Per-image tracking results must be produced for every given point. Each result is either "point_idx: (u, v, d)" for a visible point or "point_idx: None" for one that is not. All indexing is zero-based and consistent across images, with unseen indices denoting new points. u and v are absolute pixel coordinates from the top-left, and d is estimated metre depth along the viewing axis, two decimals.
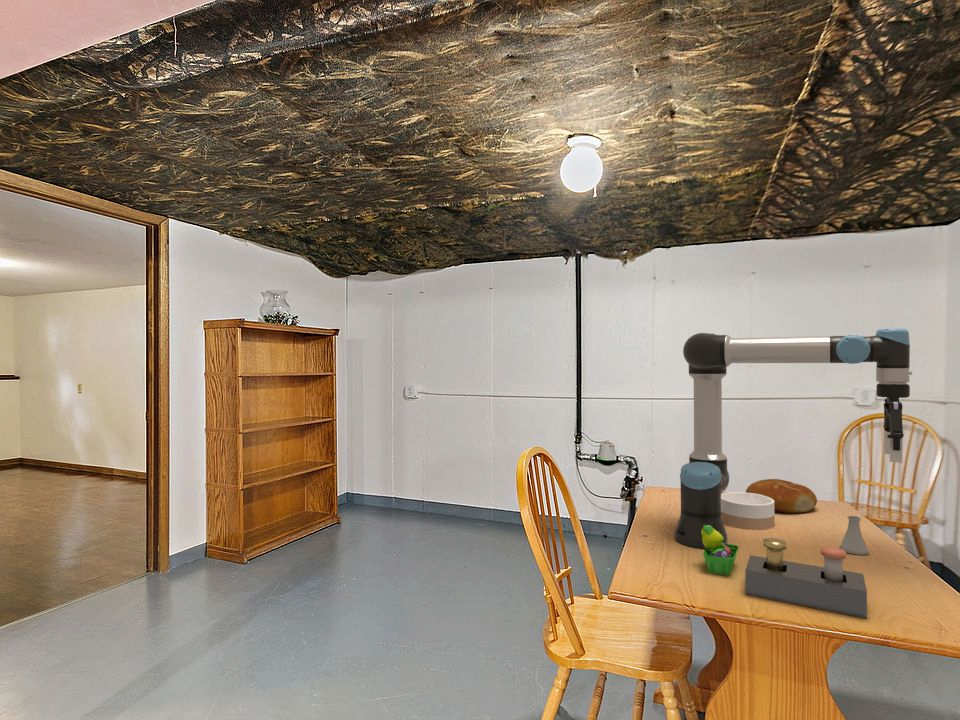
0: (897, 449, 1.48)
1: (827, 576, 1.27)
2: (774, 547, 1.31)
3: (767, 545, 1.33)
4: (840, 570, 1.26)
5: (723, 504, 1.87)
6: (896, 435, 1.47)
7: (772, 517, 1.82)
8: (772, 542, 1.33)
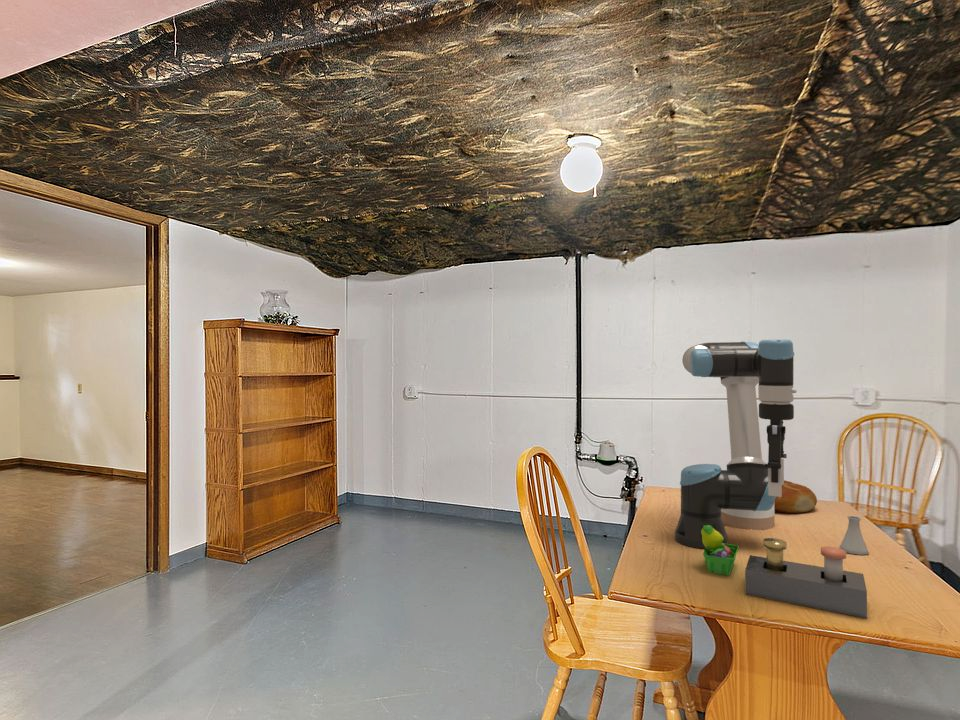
0: (775, 481, 1.26)
1: (827, 576, 1.27)
2: (774, 547, 1.31)
3: (767, 545, 1.33)
4: (840, 570, 1.26)
5: None
6: (773, 465, 1.25)
7: (772, 517, 1.82)
8: (772, 542, 1.33)
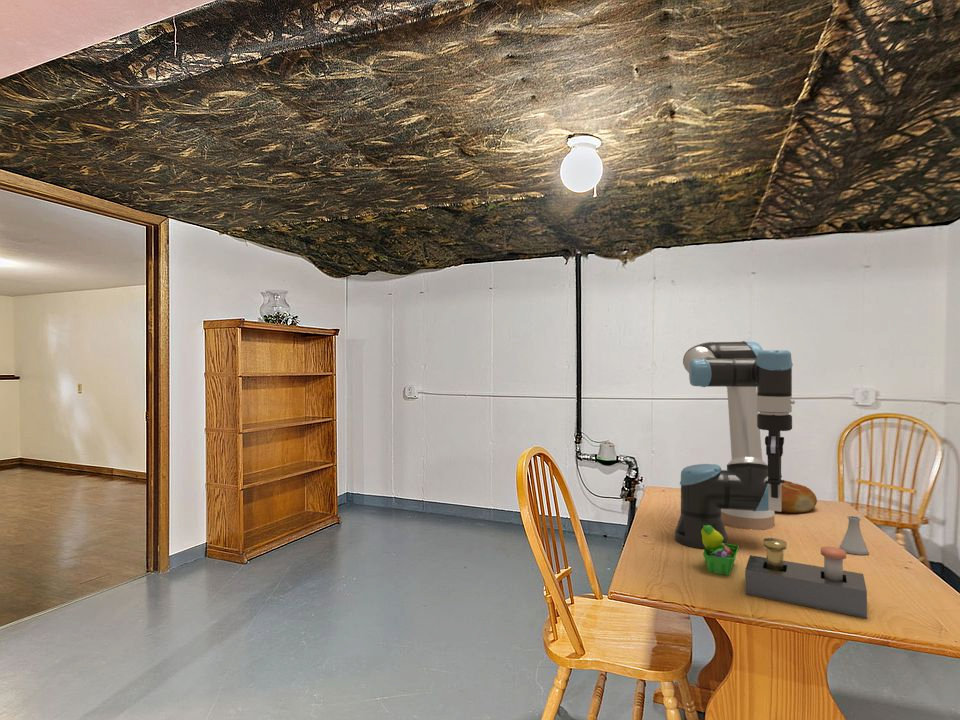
0: (775, 496, 1.32)
1: (827, 576, 1.27)
2: (774, 547, 1.31)
3: (767, 545, 1.33)
4: (840, 570, 1.26)
5: None
6: (772, 482, 1.30)
7: (772, 517, 1.82)
8: (772, 542, 1.33)
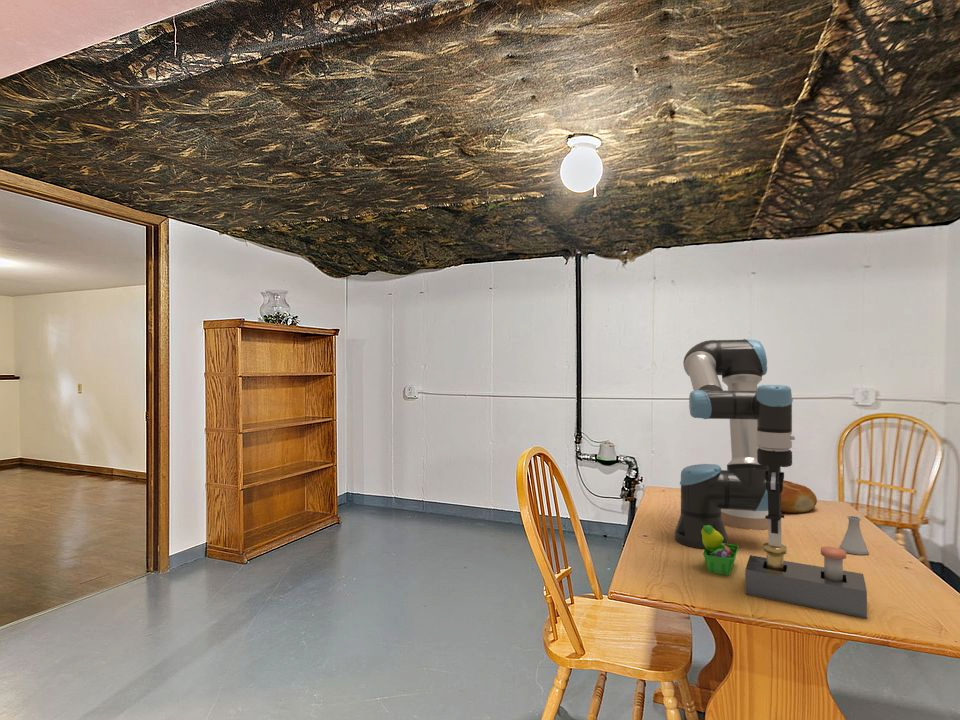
0: (775, 532, 1.32)
1: (827, 576, 1.27)
2: (774, 552, 1.31)
3: (767, 550, 1.33)
4: (840, 570, 1.26)
5: None
6: (773, 518, 1.31)
7: None
8: (772, 546, 1.33)
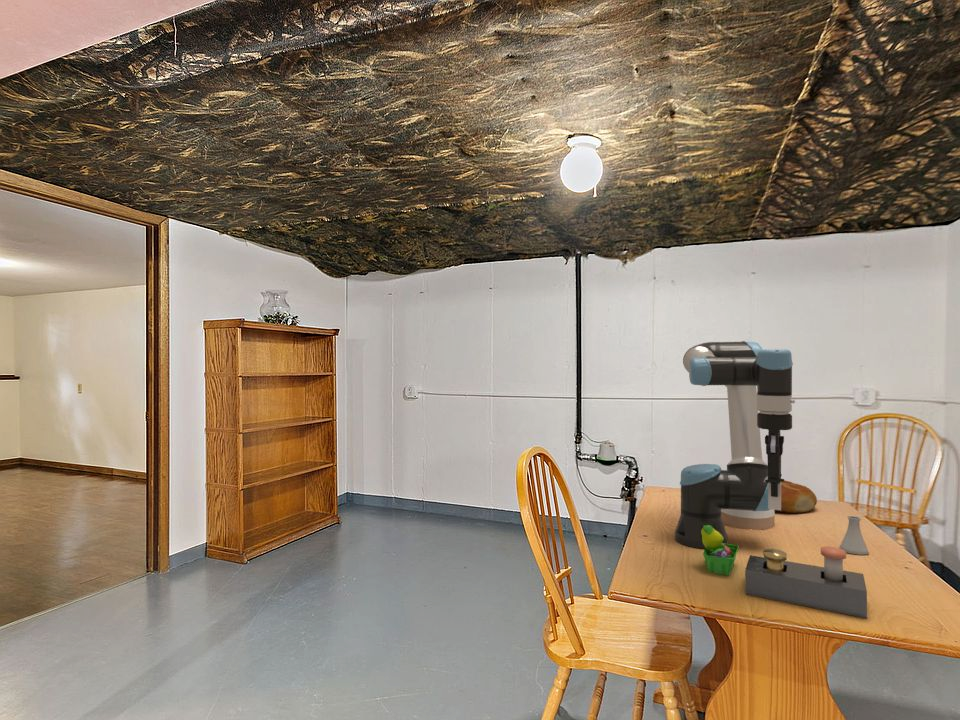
0: (775, 495, 1.32)
1: (827, 576, 1.27)
2: (774, 558, 1.31)
3: (767, 556, 1.33)
4: (840, 570, 1.26)
5: None
6: (772, 481, 1.31)
7: (772, 517, 1.82)
8: (772, 553, 1.33)
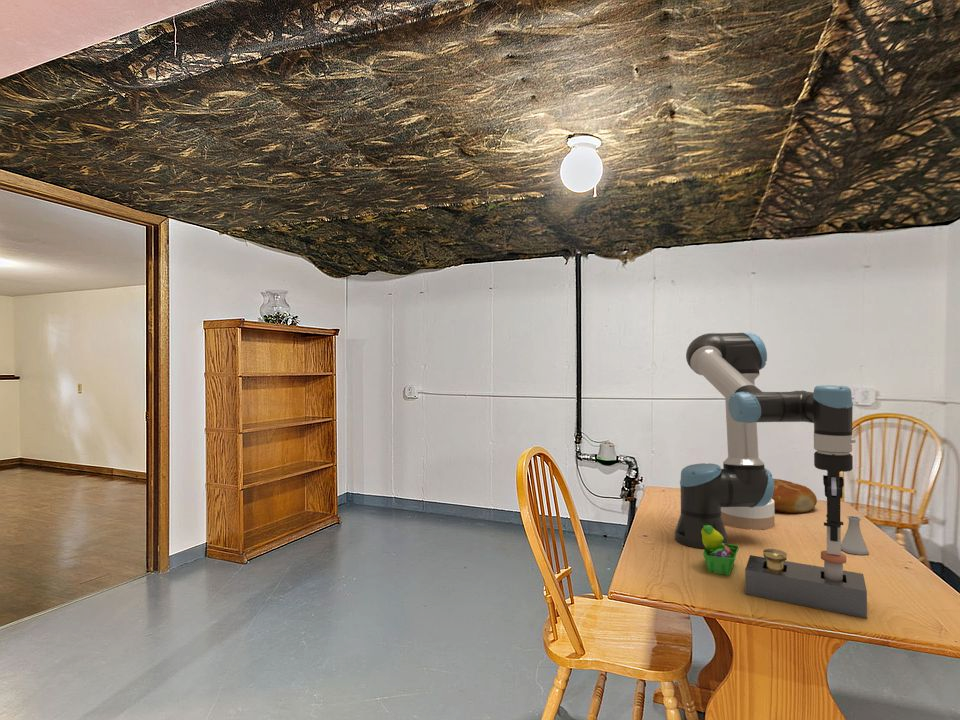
0: (834, 540, 1.25)
1: None
2: (774, 558, 1.31)
3: (767, 556, 1.33)
4: (840, 574, 1.26)
5: None
6: (832, 525, 1.24)
7: (772, 517, 1.82)
8: (772, 553, 1.33)
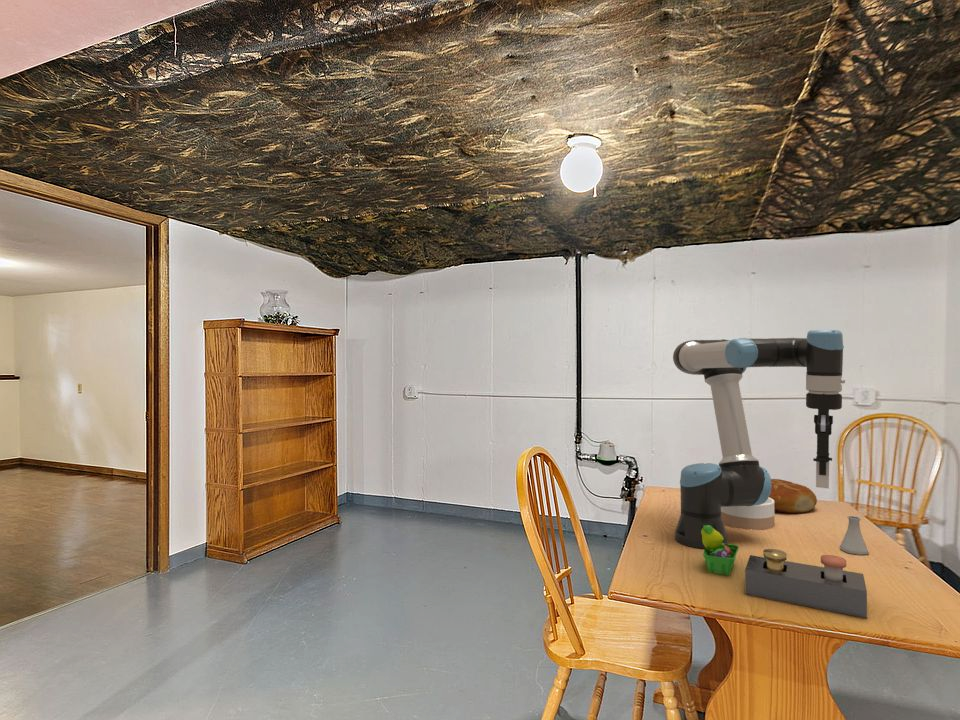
0: (823, 474, 1.34)
1: None
2: (774, 558, 1.31)
3: (767, 556, 1.33)
4: (840, 579, 1.26)
5: None
6: (821, 460, 1.33)
7: (772, 517, 1.82)
8: (772, 553, 1.33)
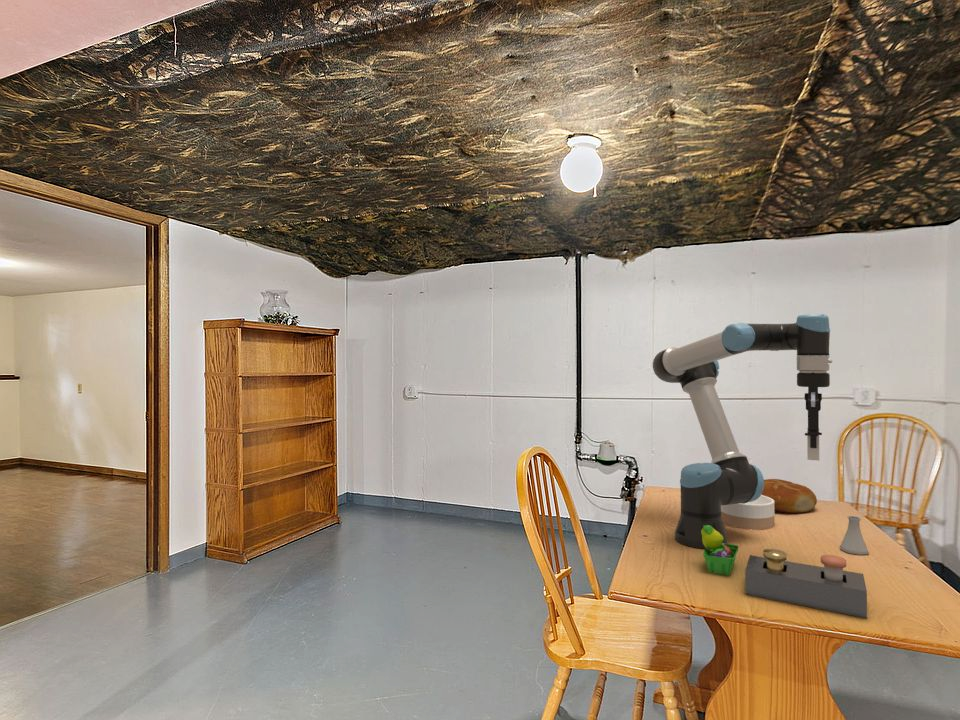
0: (814, 447, 1.45)
1: None
2: (774, 558, 1.31)
3: (767, 556, 1.33)
4: (840, 579, 1.26)
5: None
6: (812, 433, 1.44)
7: (772, 517, 1.82)
8: (772, 553, 1.33)
